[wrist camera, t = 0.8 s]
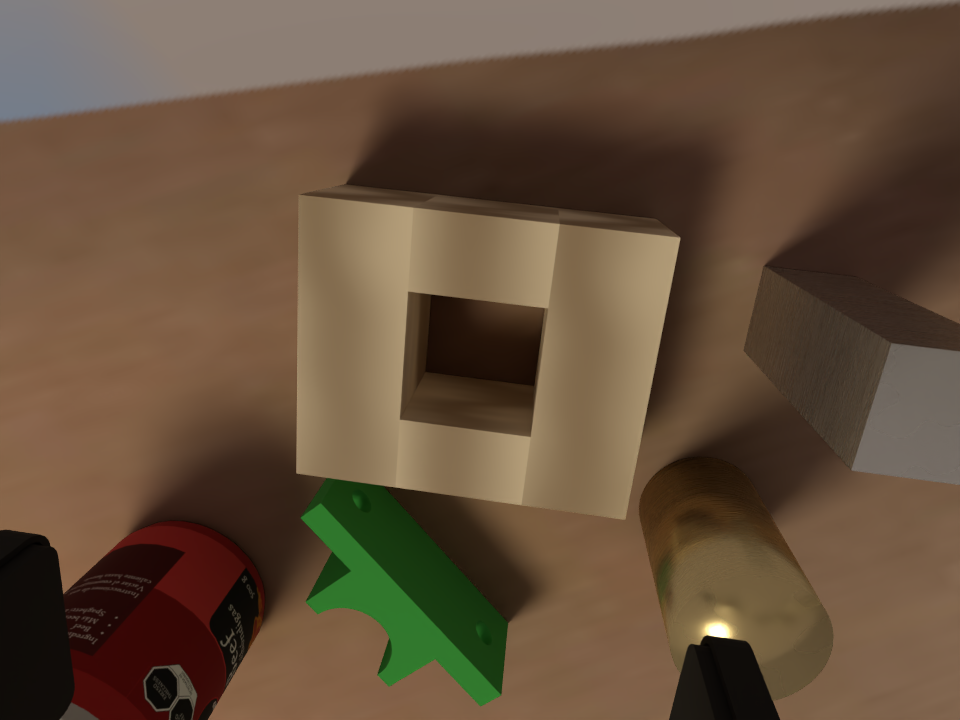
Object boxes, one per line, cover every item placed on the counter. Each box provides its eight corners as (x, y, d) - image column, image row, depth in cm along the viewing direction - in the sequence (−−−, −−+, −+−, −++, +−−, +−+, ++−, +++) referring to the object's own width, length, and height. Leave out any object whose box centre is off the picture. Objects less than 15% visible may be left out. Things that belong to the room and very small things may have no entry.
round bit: (770, 465, 28) (853, 588, 20) (743, 566, 29) (810, 714, 22) (650, 449, 28) (686, 564, 20) (629, 549, 30) (656, 690, 22)
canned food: (232, 672, 34) (94, 905, 24) (95, 595, 34) (-109, 800, 23) (298, 572, 32) (176, 782, 21) (151, 486, 31) (-48, 660, 21)
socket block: (656, 218, 25) (680, 237, 20) (612, 455, 28) (625, 519, 23) (344, 184, 26) (298, 194, 21) (337, 418, 29) (296, 473, 24)
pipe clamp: (296, 492, 31) (253, 550, 26) (354, 449, 30) (319, 502, 25) (449, 656, 33) (433, 735, 28) (509, 621, 32) (501, 697, 27)
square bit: (855, 276, 25) (1041, 361, 15) (831, 361, 26) (990, 488, 17) (763, 266, 25) (891, 343, 16) (743, 350, 26) (851, 470, 17)
